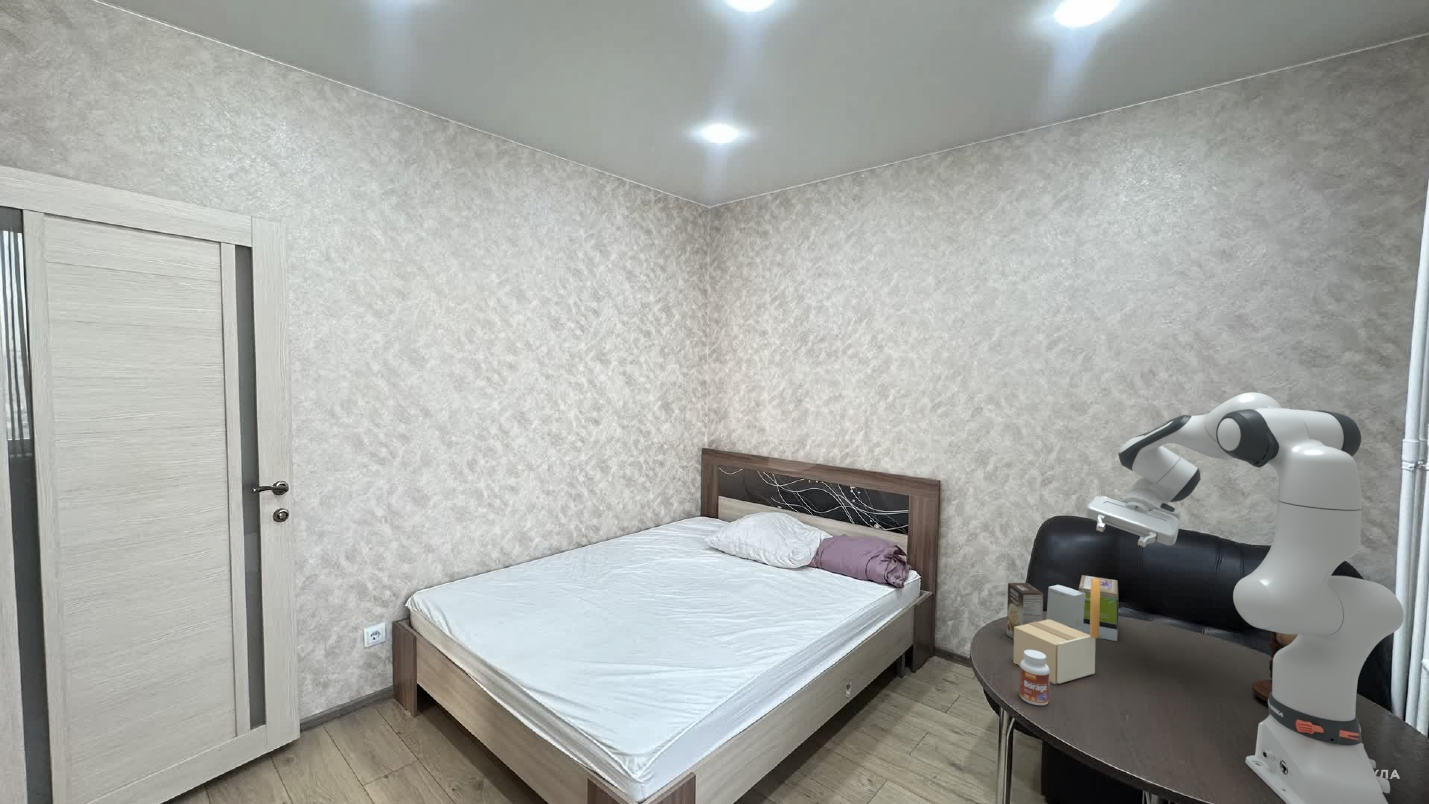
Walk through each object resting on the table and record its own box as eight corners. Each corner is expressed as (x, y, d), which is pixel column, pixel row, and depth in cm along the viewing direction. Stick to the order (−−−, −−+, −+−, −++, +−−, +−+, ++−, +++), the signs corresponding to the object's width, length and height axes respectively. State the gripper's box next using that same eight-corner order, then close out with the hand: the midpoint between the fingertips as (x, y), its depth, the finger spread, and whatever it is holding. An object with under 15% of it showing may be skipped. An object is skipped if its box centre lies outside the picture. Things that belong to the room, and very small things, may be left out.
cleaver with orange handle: (1056, 682, 145) (1058, 584, 144) (1092, 672, 150) (1094, 577, 150) (1064, 686, 143) (1066, 586, 142) (1100, 675, 148) (1101, 579, 148)
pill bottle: (1021, 703, 136) (1021, 657, 136) (1017, 690, 142) (1018, 646, 141) (1051, 708, 134) (1051, 661, 133) (1046, 695, 139) (1047, 650, 139)
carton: (1013, 663, 156) (1014, 626, 156) (1048, 654, 161) (1049, 618, 161) (1054, 684, 145) (1055, 644, 145) (1091, 673, 150) (1091, 635, 150)
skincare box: (1045, 634, 174) (1045, 586, 174) (1056, 630, 178) (1057, 583, 177) (1073, 645, 167) (1074, 595, 167) (1084, 641, 170) (1085, 591, 170)
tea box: (1080, 618, 188) (1081, 573, 187) (1118, 626, 182) (1119, 579, 182) (1077, 634, 175) (1078, 586, 175) (1117, 642, 170) (1118, 593, 169)
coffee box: (1005, 634, 175) (1006, 582, 175) (1026, 634, 175) (1027, 582, 174) (1021, 647, 166) (1022, 592, 165) (1043, 648, 166) (1044, 592, 165)
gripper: (1098, 485, 162) (1076, 511, 155) (1188, 513, 147) (1168, 543, 140) (1096, 503, 165) (1075, 529, 158) (1184, 531, 150) (1164, 562, 143)
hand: (1119, 536), depth 149 cm, fingers open, 8 cm apart
